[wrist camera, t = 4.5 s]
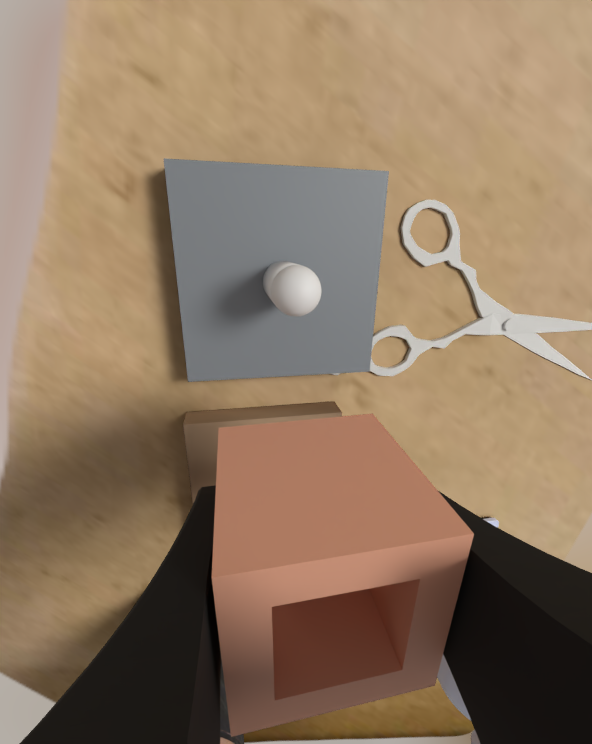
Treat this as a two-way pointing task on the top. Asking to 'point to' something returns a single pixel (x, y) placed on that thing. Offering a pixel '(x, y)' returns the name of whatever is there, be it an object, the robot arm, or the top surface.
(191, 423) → the stand
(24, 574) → the top surface
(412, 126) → the top surface
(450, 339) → the scissors
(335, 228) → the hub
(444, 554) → the collar
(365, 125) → the top surface
